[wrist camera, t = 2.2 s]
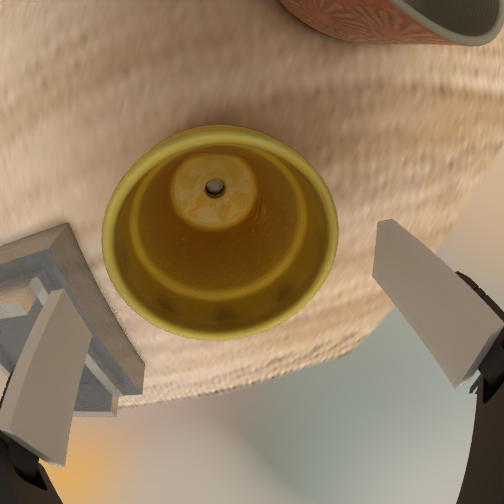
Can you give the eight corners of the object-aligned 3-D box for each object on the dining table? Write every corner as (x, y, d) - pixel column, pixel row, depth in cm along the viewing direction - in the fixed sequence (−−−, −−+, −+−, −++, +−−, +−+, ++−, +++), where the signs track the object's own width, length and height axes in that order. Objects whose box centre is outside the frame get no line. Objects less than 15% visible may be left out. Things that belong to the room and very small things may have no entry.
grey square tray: (-46, 253, 17) (-81, 295, 11) (62, 207, 18) (16, 259, 12) (34, 371, 28) (21, 415, 21) (144, 364, 29) (140, 422, 23)
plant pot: (200, 83, 16) (197, 72, 8) (311, 173, 21) (381, 234, 12) (116, 202, 19) (68, 283, 11) (225, 269, 24) (241, 364, 16)
